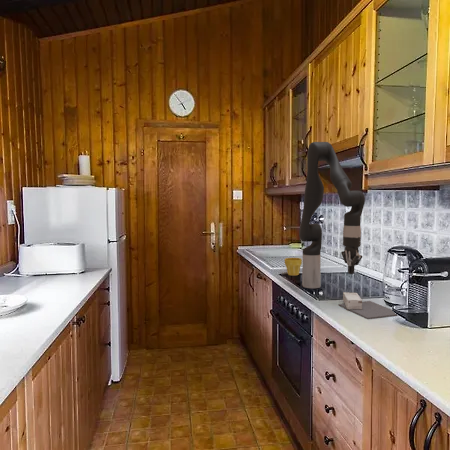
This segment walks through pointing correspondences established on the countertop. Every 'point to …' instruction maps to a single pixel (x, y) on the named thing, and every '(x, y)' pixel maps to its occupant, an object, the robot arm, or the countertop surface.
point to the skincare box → (352, 300)
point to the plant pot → (293, 265)
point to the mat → (371, 310)
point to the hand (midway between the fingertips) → (351, 273)
